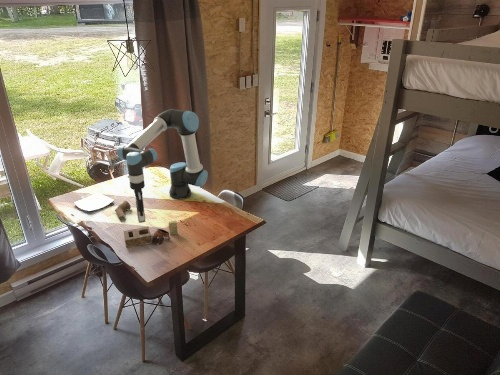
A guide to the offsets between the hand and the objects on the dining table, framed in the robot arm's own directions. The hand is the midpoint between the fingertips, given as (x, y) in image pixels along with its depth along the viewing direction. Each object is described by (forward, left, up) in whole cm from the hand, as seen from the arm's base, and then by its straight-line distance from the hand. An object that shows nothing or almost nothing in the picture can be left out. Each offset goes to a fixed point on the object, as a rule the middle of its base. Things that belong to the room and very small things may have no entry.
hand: (141, 218), depth 216 cm
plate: (+25, -54, -15) cm, 61 cm away
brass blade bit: (-17, 0, -14) cm, 22 cm away
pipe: (+8, -34, -15) cm, 38 cm away
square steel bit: (0, 0, -2) cm, 2 cm away
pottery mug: (-8, +6, -14) cm, 18 cm away
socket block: (+3, 0, -14) cm, 14 cm away
